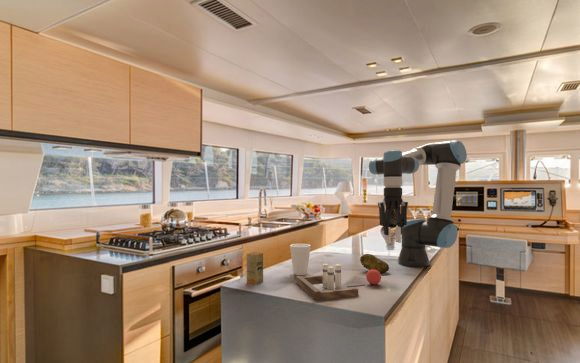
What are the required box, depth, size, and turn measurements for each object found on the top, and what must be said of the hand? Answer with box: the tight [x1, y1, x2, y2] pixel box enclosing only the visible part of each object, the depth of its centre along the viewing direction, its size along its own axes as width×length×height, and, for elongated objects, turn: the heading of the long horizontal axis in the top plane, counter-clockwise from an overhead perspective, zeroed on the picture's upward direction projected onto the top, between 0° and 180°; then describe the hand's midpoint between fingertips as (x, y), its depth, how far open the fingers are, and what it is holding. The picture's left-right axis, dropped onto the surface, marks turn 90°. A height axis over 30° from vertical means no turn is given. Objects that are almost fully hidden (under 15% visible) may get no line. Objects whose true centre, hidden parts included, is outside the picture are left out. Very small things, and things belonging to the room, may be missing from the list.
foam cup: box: [289, 243, 311, 276], centre depth 158 cm, size 10×9×13 cm
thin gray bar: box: [346, 283, 366, 288], centre depth 137 cm, size 8×1×1 cm, turn 107°
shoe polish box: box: [246, 251, 264, 285], centre depth 143 cm, size 5×5×12 cm
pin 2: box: [327, 266, 335, 291], centre depth 131 cm, size 2×2×9 cm
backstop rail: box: [295, 274, 359, 301], centre depth 133 cm, size 17×22×3 cm
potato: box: [359, 253, 390, 274], centre depth 160 cm, size 8×13×8 cm, turn 45°
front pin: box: [334, 263, 342, 290], centre depth 135 cm, size 2×2×9 cm
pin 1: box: [322, 263, 330, 289], centre depth 136 cm, size 2×2×9 cm
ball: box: [365, 269, 382, 286], centre depth 139 cm, size 6×6×6 cm
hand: (393, 242), depth 142 cm, fingers open, 4 cm apart
